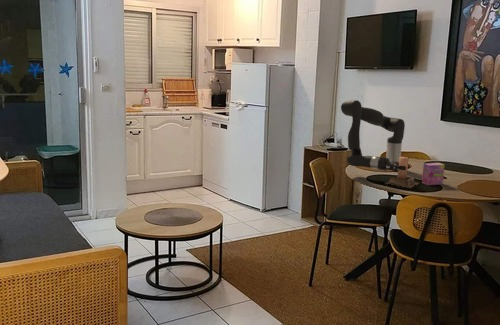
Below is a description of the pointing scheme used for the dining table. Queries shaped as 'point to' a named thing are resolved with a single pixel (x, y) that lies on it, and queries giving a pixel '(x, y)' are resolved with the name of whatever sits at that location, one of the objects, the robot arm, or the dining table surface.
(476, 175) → the dining table surface
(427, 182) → the box
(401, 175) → the pivot pin
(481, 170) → the dining table surface
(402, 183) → the keeper cradle
